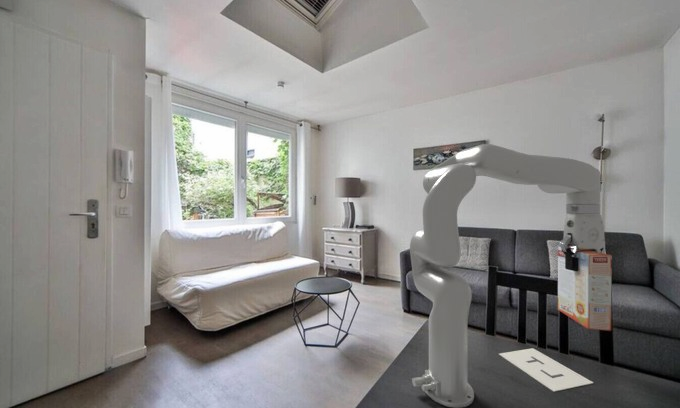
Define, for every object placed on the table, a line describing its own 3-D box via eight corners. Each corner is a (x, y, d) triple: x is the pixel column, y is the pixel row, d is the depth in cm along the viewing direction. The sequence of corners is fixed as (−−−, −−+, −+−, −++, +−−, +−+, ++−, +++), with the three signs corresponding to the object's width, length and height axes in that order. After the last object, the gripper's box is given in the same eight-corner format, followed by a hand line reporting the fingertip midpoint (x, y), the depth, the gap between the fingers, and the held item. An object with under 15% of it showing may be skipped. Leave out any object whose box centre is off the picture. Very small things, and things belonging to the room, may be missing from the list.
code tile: (553, 391, 71) (553, 390, 71) (498, 354, 88) (498, 353, 88) (593, 383, 74) (593, 382, 74) (532, 348, 92) (532, 348, 92)
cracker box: (613, 331, 73) (613, 254, 72) (587, 330, 74) (587, 254, 74) (578, 311, 86) (578, 246, 86) (556, 309, 88) (556, 245, 87)
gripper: (574, 211, 74) (574, 274, 74) (619, 210, 78) (619, 270, 78) (547, 210, 81) (547, 268, 82) (590, 209, 86) (590, 264, 86)
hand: (582, 268), depth 80 cm, fingers closed on cracker box, 8 cm apart
